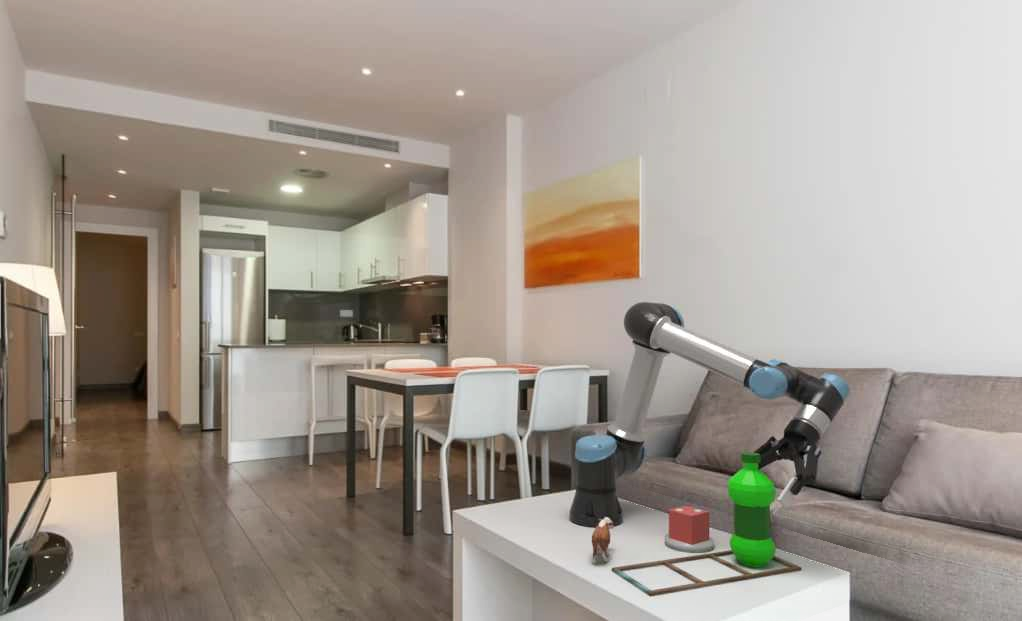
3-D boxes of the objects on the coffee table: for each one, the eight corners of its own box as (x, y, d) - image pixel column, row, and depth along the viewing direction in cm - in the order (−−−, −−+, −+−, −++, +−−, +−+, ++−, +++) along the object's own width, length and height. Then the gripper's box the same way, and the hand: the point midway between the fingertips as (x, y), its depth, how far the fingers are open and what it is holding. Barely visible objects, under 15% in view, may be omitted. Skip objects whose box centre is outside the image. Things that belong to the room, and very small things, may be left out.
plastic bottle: (734, 569, 139) (732, 457, 140) (726, 554, 149) (724, 449, 151) (781, 572, 137) (779, 458, 138) (769, 556, 147) (767, 450, 149)
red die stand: (654, 543, 157) (654, 508, 158) (684, 534, 164) (684, 501, 165) (694, 556, 148) (693, 519, 148) (724, 546, 155) (723, 511, 155)
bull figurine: (616, 549, 153) (616, 515, 153) (606, 568, 140) (606, 531, 140) (598, 547, 154) (598, 514, 154) (587, 565, 141) (587, 529, 142)
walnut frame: (611, 570, 138) (611, 567, 138) (752, 549, 153) (752, 546, 153) (650, 596, 124) (650, 593, 124) (801, 570, 139) (801, 567, 139)
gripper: (860, 446, 139) (812, 521, 133) (775, 432, 163) (731, 495, 156) (842, 423, 138) (792, 498, 131) (759, 412, 161) (713, 475, 154)
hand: (759, 496), depth 144 cm, fingers open, 13 cm apart
